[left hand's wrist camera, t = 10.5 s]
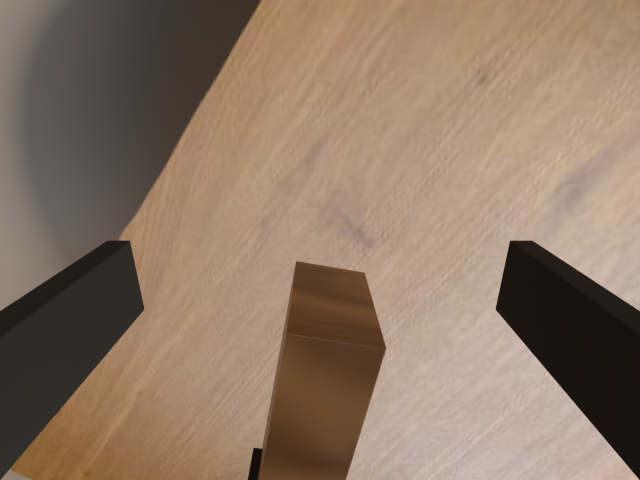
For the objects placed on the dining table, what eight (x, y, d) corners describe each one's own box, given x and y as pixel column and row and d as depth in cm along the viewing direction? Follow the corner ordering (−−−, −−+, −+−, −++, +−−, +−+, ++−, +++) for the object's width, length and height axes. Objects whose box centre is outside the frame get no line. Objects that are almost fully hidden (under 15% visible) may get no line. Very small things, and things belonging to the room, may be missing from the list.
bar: (296, 261, 25) (286, 333, 17) (364, 272, 26) (387, 349, 18) (255, 484, 33) (236, 604, 25) (308, 490, 34) (305, 610, 26)
